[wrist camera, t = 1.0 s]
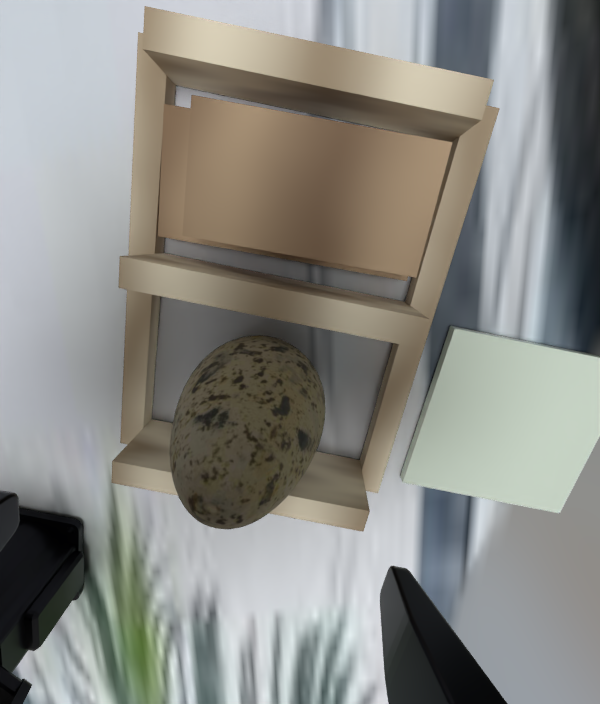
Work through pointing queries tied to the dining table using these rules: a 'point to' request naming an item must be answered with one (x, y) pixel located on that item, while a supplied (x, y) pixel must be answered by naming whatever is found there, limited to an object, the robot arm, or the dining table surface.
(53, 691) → the dining table surface
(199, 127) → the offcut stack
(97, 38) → the dining table surface
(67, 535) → the robot arm
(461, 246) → the dining table surface
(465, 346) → the tile
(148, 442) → the slot rack
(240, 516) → the decorative egg
